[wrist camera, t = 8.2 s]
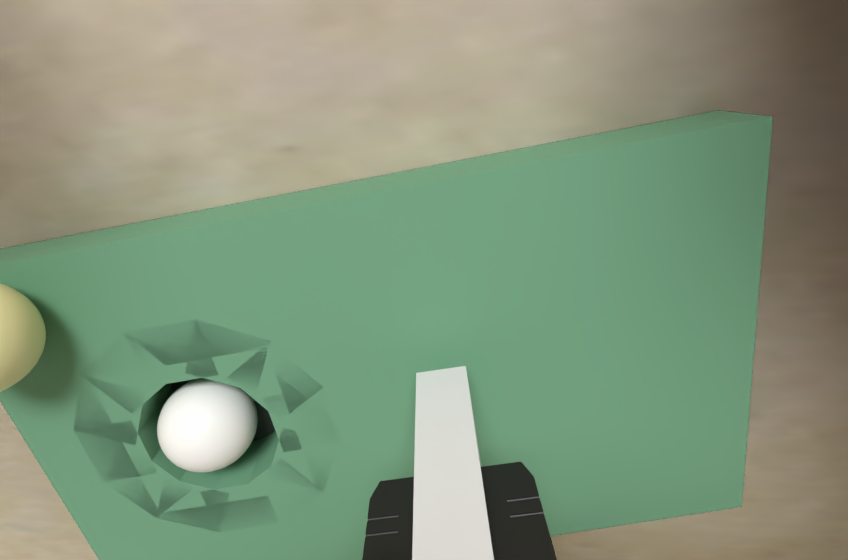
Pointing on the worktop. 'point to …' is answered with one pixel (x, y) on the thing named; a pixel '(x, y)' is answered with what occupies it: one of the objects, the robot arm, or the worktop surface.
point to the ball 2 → (206, 425)
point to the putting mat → (412, 341)
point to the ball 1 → (18, 336)
